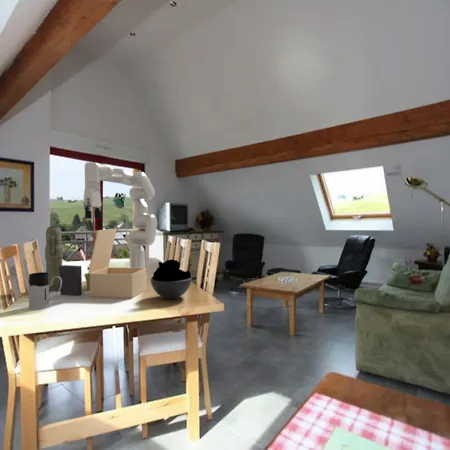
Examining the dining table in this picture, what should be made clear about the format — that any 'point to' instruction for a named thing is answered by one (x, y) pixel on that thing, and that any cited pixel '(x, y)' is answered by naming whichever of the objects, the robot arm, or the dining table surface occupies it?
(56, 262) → the thermos
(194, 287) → the dining table surface
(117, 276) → the carton
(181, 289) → the coal bowl
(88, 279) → the plant pot
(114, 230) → the flap
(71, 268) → the dark grey box
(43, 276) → the glass holder
